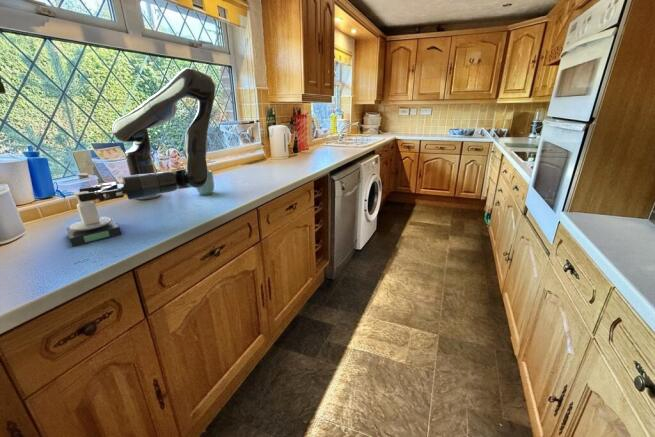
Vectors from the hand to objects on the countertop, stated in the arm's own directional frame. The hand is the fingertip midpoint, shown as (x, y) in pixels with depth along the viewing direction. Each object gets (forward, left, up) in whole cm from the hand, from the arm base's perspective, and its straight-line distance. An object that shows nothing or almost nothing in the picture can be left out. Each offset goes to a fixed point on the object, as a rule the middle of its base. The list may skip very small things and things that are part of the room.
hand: (79, 195), depth 89 cm
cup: (-21, +44, -13) cm, 51 cm away
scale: (0, 0, -13) cm, 13 cm away
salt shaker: (0, +1, -9) cm, 9 cm away
